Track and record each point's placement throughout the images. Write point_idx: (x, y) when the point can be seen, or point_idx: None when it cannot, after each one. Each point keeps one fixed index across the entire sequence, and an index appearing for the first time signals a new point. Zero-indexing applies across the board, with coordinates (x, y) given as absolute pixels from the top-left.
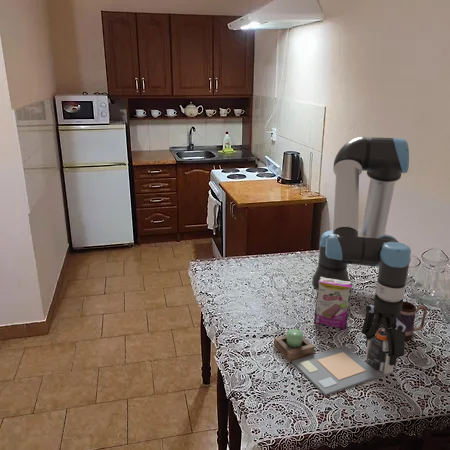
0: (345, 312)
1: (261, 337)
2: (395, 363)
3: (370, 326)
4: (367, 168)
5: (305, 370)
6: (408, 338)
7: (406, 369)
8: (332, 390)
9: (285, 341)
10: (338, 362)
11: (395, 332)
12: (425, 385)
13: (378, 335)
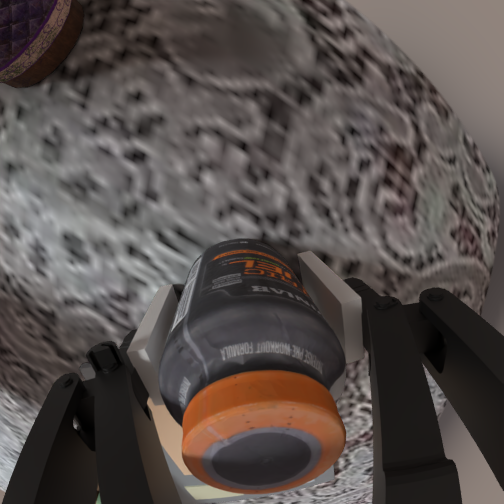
0: None
1: None
2: (361, 284)
3: (70, 430)
4: None
5: (230, 497)
6: (76, 15)
7: (301, 155)
8: (330, 469)
9: None
10: None
11: (440, 452)
12: (415, 152)
13: (280, 487)
